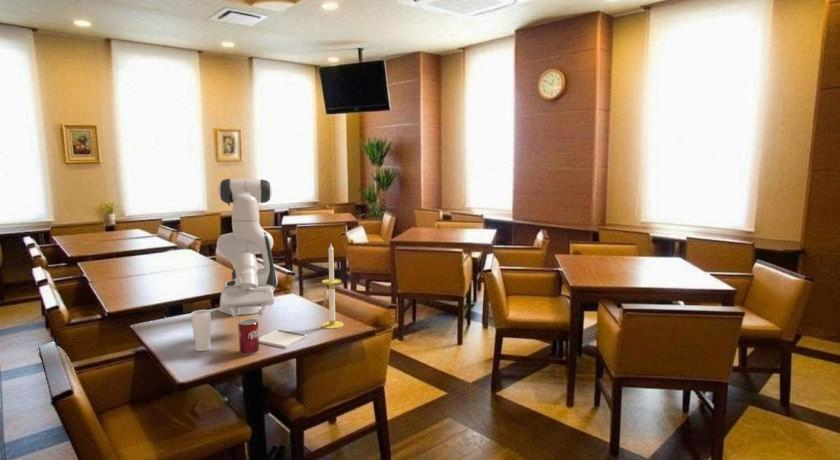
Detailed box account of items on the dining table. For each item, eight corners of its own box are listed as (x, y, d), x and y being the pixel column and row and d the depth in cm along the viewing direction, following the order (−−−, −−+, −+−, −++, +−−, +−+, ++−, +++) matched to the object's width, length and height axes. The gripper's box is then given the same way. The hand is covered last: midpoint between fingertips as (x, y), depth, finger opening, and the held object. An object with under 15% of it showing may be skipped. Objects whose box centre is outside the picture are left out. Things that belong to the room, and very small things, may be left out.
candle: (337, 320, 225) (335, 240, 220) (347, 326, 217) (346, 243, 212) (317, 324, 219) (315, 242, 214) (327, 330, 211) (325, 245, 206)
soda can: (235, 355, 183) (234, 324, 182) (245, 347, 191) (244, 318, 189) (253, 356, 182) (252, 325, 181) (262, 349, 190) (261, 319, 188)
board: (254, 341, 197) (254, 339, 197) (278, 331, 210) (278, 328, 209) (285, 348, 190) (285, 345, 190) (308, 337, 203) (308, 334, 203)
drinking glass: (205, 353, 185) (203, 315, 183) (189, 352, 186) (187, 314, 184) (216, 347, 191) (214, 310, 189) (200, 345, 193) (198, 308, 191)
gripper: (273, 288, 203) (275, 317, 195) (220, 291, 196) (220, 322, 188) (273, 279, 198) (275, 309, 190) (219, 283, 192) (219, 314, 184)
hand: (247, 315), depth 189 cm, fingers open, 8 cm apart
